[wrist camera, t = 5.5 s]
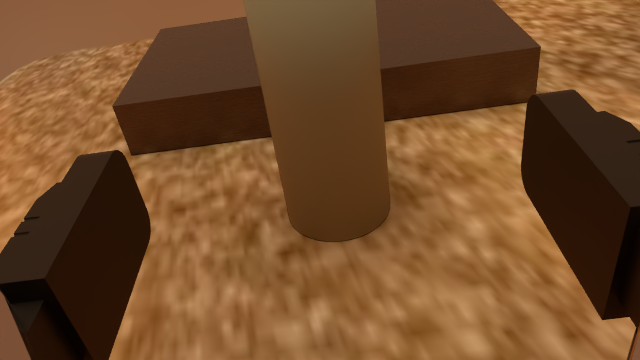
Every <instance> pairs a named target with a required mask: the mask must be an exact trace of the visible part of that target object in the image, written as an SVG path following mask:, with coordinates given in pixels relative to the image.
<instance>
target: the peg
mask: <svg viewBox="0 0 640 360" xmlns="http://www.w3.org/2000/svg"><path fill="white" fill-rule="evenodd" d="M243 2H244V7H245V12H246V17H247V21H248V26H249V31H250V35H251V40H252V45H253V50H254V54H255V59H256V64H257V69H258V73H259V78H260V83H261V88H262V92H263V97H264V102H265V106H266V111H267V116H268V121H269V125H270V130H271V135H272V140H273V144H274V149H275V154H276V159H277V163H278V168H279V173H280V177H281V182H282V187H283V192H284V196H285V201H286V206H287V211H288V215H289V220H290V222H291V224H292V226H293V227H294V228H295V229H296V230H297V231H298V232H300V233H301V234H303V235H305V236H307V237H309V238H312V239H316V240H321V241H345V240H350V239H354V238H357V237H360V236H363V235H365V234H367V233H369V232H371V231H373V230H374V229H376V228H377V227H378V226H379V225H381V224H382V222H383V221H384V220H385V219H386V217H387V215H388V213H389V210H390V196H389V182H388V168H387V154H386V141H385V127H384V113H383V99H382V85H381V71H380V57H379V44H378V30H377V16H376V2H375V0H243Z"/></svg>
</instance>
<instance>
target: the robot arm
mask: <svg viewBox="0 0 640 360" xmlns="http://www.w3.org/2000/svg"><path fill="white" fill-rule="evenodd" d="M521 174H522V180H523V185H524V188H525V191H526V193H527V195H528V197H529V198H530V200H531V202H532V203H533V205H534V207H535V208H536V210H537V212H538V213H539V215H540V217H541V218H542V220H543V222H544V223H545V225H546V227H547V229H548V230H549V232H550V234H551V235H552V237H553V239H554V240H555V242H556V244H557V245H558V247H559V249H560V250H561V252H562V254H563V255H564V257H565V259H566V260H567V262H568V264H569V265H570V267H571V269H572V270H573V272H574V274H575V275H576V277H577V279H578V280H579V282H580V284H581V285H582V287H583V289H584V290H585V292H586V294H587V296H588V297H589V299H590V301H591V302H592V304H593V306H594V307H595V309H596V311H597V312H598V314H599V316H600V317H601V319H602V320H607V319H615V318H624V317H630V318H631V320H632V321H633V323H634V324H635V326H636V330H635V333H634V336H633V340H632V343H631V347H630V350H629V353H628V357H627V360H640V132H639V131H638V130H637V129H636V128H635V127H634V126H633V125H632V124H631V123H630V122H627V121H625V120H623V119H621V118H619V117H617V116H614V115H612V114H610V113H608V112H606V111H601V112H596V111H595V110H594V109H593V108H592V107H591V106H590V105H589V104H588V102H587V101H586V100H585V99H584V98H583V97H582V96H581V95H580V94H579V93H578V92H576V91H575V90H564V91H557V92H550V93H542V94H535V95H532V96H531V97H530V98H529V100H528V103H527V109H526V119H525V129H524V139H523V149H522V160H521ZM24 220H25V221H24V222H21V224H20V225H19V227H18V228H17V230H16V231H15V233H14V237H11V238H10V240H9V241H8V243H7V244H6V246H5V247H4V249H3V250H2V252H1V253H0V360H109V357H110V354H111V351H112V348H113V345H114V342H115V339H116V336H117V334H118V331H119V328H120V325H121V322H122V319H123V316H124V313H125V310H126V307H127V304H128V302H129V299H130V296H131V293H132V290H133V287H134V284H135V281H136V278H137V275H138V272H139V270H140V267H141V264H142V261H143V258H144V255H145V252H146V249H147V246H148V243H149V240H150V232H151V228H150V219H149V214H148V211H147V208H146V206H145V203H144V201H143V199H142V196H141V194H140V191H139V189H138V186H137V184H136V181H135V179H134V176H133V174H132V172H131V169H130V167H129V164H128V162H127V160H126V158H125V156H124V155H123V153H122V152H121V151H119V150H114V151H107V152H99V153H92V154H85V155H80V156H78V157H77V158H76V160H75V161H74V163H73V165H72V166H71V168H70V169H69V171H68V172H67V174H66V176H65V177H64V179H63V180H62V182H60V183H56V184H55V185H54V186H53V187H51V188H50V189H49V190H48V191H47V192H45V193H44V194H43V195H42V196H40V197H39V198H38V199H37V200H36V201H35V203H34V204H33V206H32V207H31V209H30V210H29V212H28V213H27V215H26V216H25V218H24Z"/></svg>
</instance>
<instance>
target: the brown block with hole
mask: <svg viewBox="0 0 640 360" xmlns="http://www.w3.org/2000/svg"><path fill="white" fill-rule="evenodd" d="M375 2H376V16H377V30H378V44H379V57H380V71H381V85H382V99H383V113H384V121H388V120H395V119H403V118H410V117H417V116H425V115H432V114H440V113H447V112H455V111H462V110H469V109H477V108H484V107H492V106H499V105H507V104H514V103H521V102H528V100H529V98H530V97H531V96H532V95H535V94H536V88H537V78H538V69H539V59H540V50H541V46H540V45H539V44H537V43H536V42H535V41H534V40H533V39H532V38H531V37H530V36H529V35H528V34H527V33H526V32H525V31H524V30H523V29H522V28H521V27H520V26H519V25H518V24H517V23H515V22H514V21H513V20H512V19H511V18H510V17H509V16H508V15H507V14H506V13H505V12H504V11H503V10H502V9H501V8H500V7H499V6H498V5H497V4H496V3H495V2H493V1H492V0H375ZM112 107H113V109H114V112H115V114H116V117H117V119H118V122H119V124H120V127H121V130H122V132H123V135H124V137H125V140H126V142H127V145H128V147H129V150H130V152H131V155H135V154H142V153H150V152H157V151H165V150H172V149H180V148H187V147H195V146H202V145H209V144H217V143H224V142H232V141H239V140H247V139H254V138H261V137H269V136H272V135H271V130H270V125H269V121H268V116H267V111H266V106H265V102H264V97H263V92H262V88H261V83H260V78H259V73H258V69H257V64H256V59H255V54H254V50H253V45H252V40H251V35H250V31H249V26H248V21H247V17H242V18H235V19H228V20H221V21H214V22H208V23H200V24H194V25H187V26H180V27H173V28H166V29H161V30H160V31H159V33H158V35H157V36H156V38H155V39H154V41H153V42H152V44H151V46H150V47H149V49H148V50H147V52H146V54H145V55H144V57H143V58H142V60H141V62H140V63H139V65H138V66H137V68H136V69H135V71H134V73H133V74H132V76H131V77H130V79H129V81H128V82H127V84H126V85H125V87H124V89H123V90H122V92H121V93H120V95H119V97H118V98H117V100H116V101H115V103H114V104H113V106H112Z"/></svg>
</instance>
